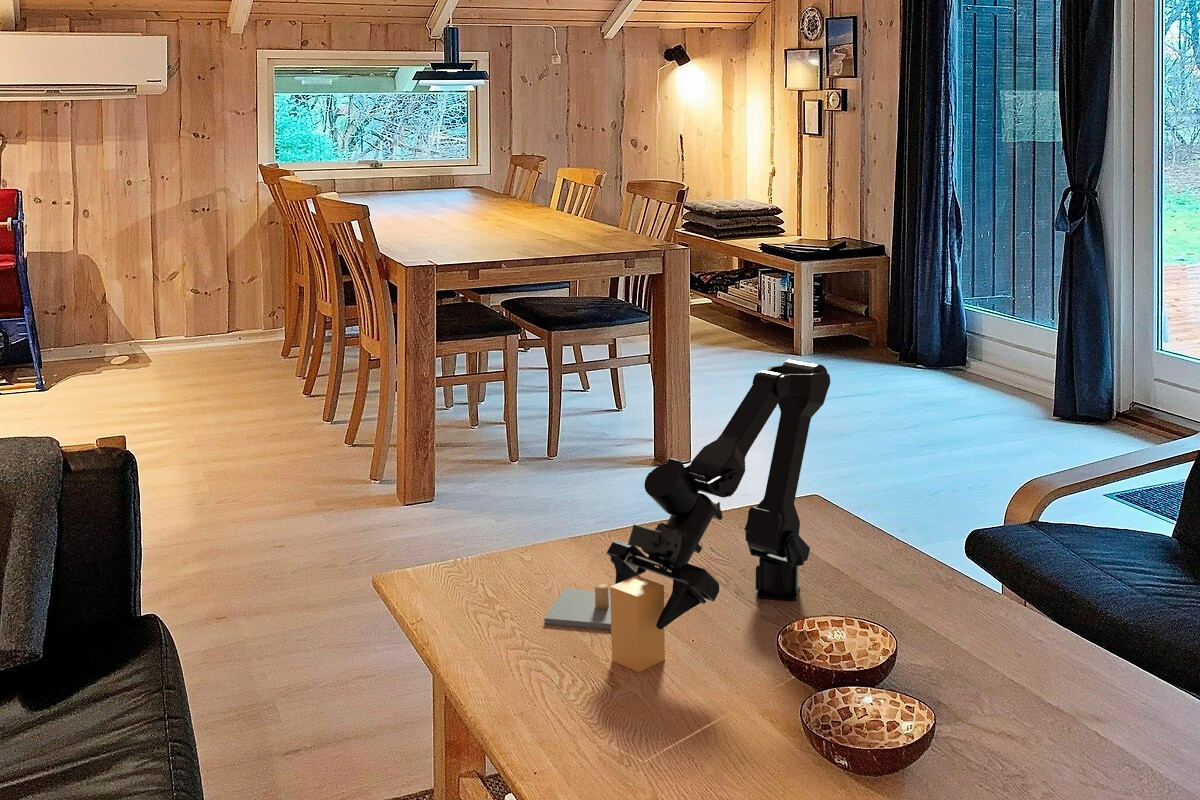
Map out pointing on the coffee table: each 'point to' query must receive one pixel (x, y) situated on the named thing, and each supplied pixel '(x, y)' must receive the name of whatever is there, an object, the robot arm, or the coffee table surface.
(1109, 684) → the coffee table surface
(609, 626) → the post board
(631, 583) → the tall amber pillar
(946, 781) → the coffee table surface
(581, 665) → the coffee table surface
